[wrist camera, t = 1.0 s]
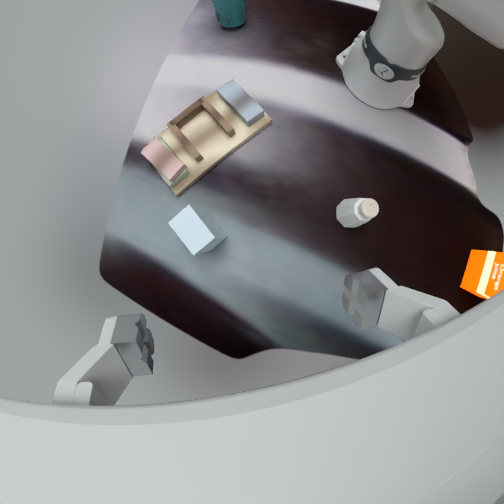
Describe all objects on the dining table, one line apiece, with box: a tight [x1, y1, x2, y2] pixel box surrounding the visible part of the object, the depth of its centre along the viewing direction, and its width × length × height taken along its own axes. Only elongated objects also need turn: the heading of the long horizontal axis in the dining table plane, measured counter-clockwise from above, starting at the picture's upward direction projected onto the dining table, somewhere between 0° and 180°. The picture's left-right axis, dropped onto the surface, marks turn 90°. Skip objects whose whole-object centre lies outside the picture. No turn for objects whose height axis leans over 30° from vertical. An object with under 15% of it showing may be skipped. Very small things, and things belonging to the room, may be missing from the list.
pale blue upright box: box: [168, 205, 226, 256], centre depth 44 cm, size 6×4×11 cm, turn 39°
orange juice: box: [460, 250, 504, 299], centre depth 36 cm, size 8×9×20 cm
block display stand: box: [141, 79, 272, 196], centre depth 45 cm, size 12×22×6 cm, turn 129°
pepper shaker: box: [336, 198, 379, 228], centre depth 42 cm, size 5×5×11 cm
